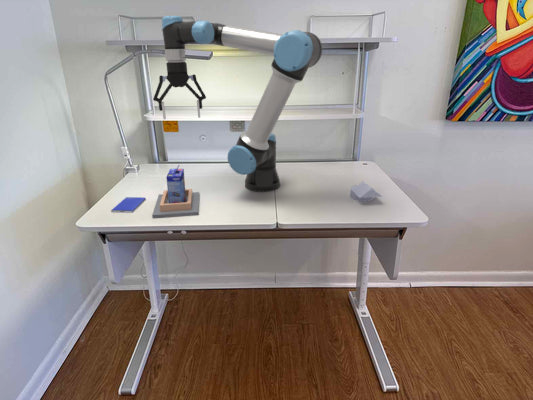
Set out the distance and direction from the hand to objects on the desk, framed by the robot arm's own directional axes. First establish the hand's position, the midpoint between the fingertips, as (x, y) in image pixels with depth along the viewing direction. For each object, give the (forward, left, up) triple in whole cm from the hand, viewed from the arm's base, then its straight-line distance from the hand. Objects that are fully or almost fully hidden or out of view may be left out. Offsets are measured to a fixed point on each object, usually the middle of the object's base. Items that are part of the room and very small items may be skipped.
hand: (182, 118), depth 146 cm
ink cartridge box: (+3, +20, -29) cm, 35 cm away
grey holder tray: (+3, +20, -30) cm, 36 cm away
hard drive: (+22, +17, -30) cm, 41 cm away
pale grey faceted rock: (-69, +26, -30) cm, 79 cm away
